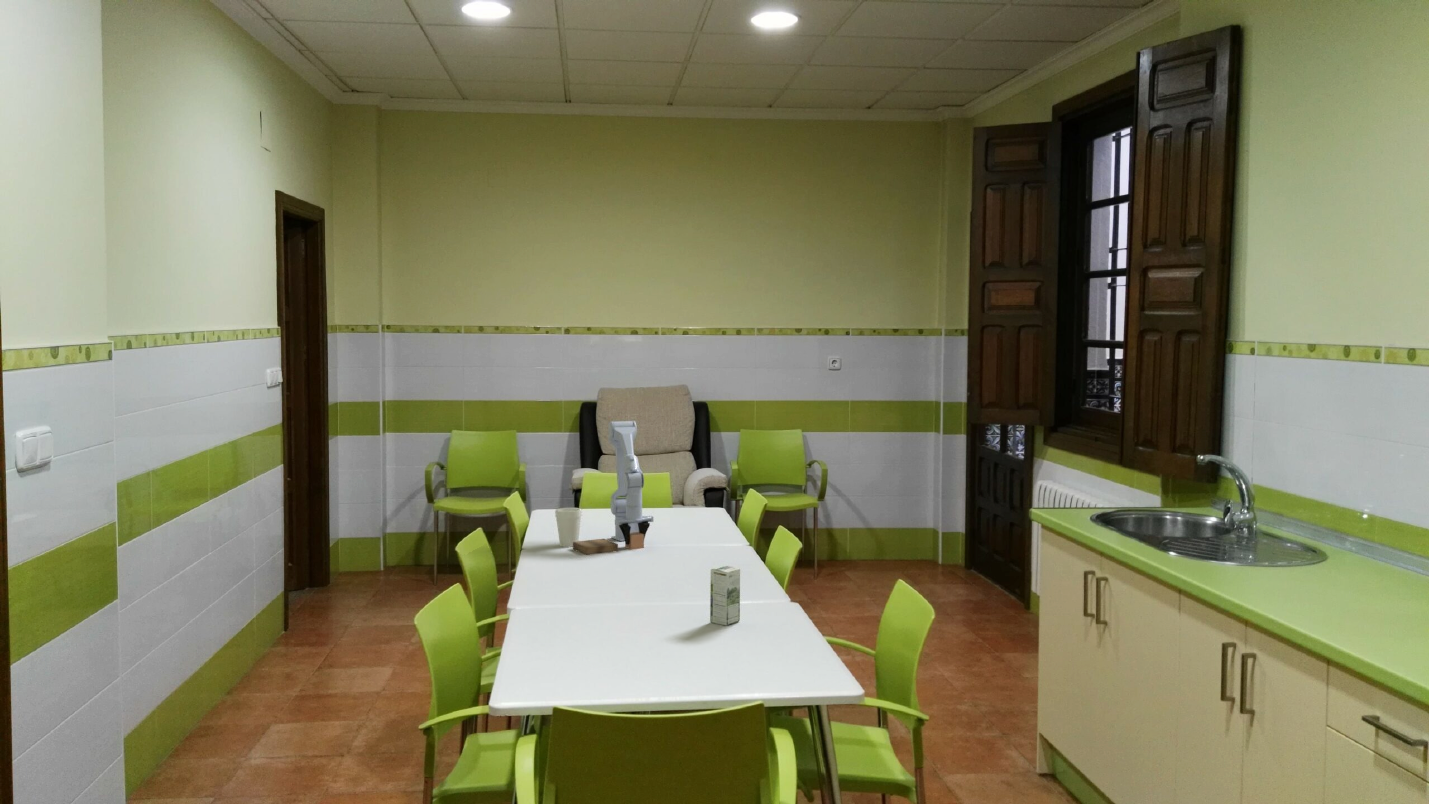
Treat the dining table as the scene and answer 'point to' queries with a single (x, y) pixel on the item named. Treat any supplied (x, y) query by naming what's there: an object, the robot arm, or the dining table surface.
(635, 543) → the terracotta block
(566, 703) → the dining table surface
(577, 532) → the foam cup
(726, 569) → the syrup box
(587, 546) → the walnut plinth
